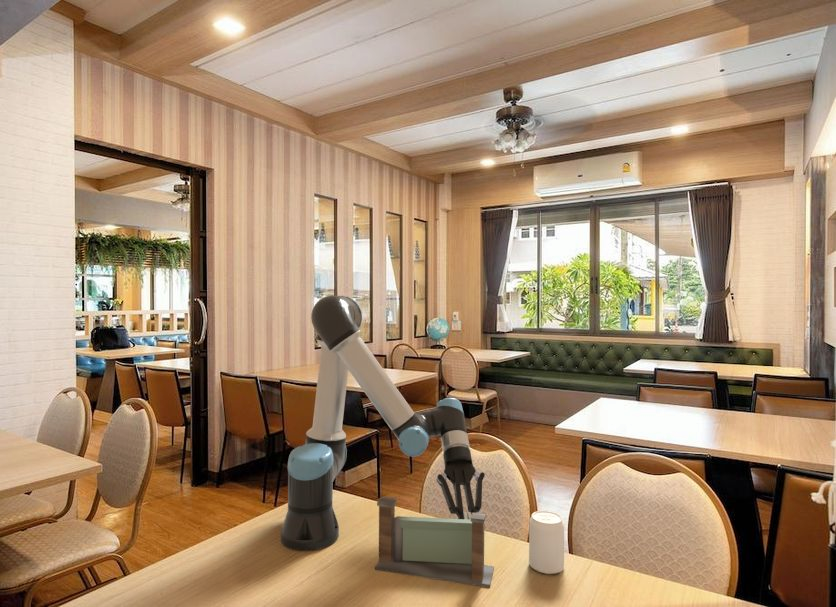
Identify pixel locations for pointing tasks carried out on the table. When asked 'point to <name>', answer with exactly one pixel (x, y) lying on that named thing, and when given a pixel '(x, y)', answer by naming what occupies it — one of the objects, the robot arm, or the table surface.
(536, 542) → the white cylinder
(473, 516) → the gate frame
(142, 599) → the table surface
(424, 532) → the gate
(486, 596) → the table surface
